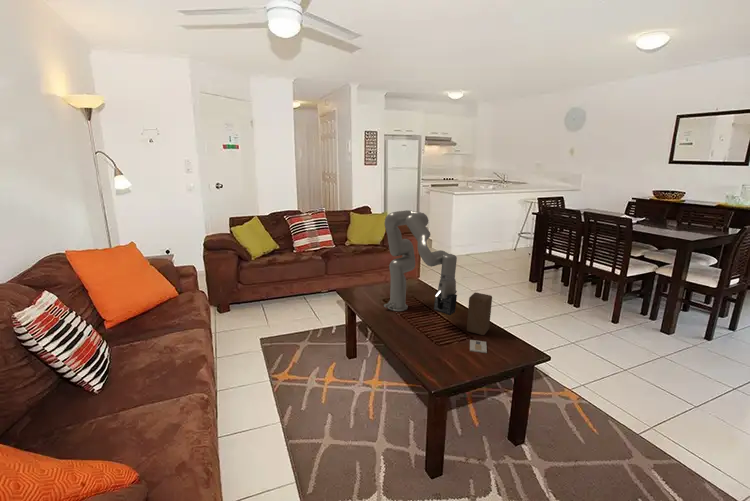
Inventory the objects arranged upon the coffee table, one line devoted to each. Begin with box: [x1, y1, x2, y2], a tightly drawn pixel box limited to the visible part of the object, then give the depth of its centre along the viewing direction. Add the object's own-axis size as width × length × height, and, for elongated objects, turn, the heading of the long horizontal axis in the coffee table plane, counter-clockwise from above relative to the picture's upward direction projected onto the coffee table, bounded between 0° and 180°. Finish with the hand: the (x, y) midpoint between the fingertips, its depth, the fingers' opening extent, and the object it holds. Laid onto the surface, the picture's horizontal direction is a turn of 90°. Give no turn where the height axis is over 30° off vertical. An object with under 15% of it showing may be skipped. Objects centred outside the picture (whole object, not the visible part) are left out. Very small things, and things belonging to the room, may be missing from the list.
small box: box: [433, 290, 458, 316], centre depth 212 cm, size 11×6×10 cm, turn 51°
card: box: [469, 339, 488, 354], centre depth 192 cm, size 8×11×1 cm
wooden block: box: [466, 292, 493, 336], centre depth 208 cm, size 10×10×20 cm
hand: (444, 306), depth 212 cm, fingers closed on small box, 7 cm apart
